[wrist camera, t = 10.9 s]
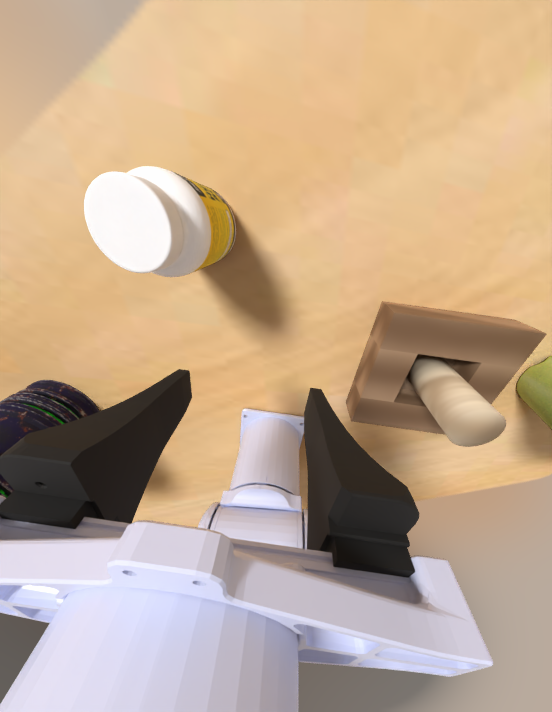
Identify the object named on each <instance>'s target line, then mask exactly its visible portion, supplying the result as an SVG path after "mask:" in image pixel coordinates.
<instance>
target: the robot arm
mask: <svg viewBox="0 0 552 712" xmlns="http://www.w3.org/2000/svg"><path fill="white" fill-rule="evenodd" d="M191 398H192V393H191V383H190V372H189V371H188V370H181V369H179V370H177V371H175V372H174V373H172V374H171V375H169V376H167V377H166V378H164V379H163V380H161V381H159V382H158V383H156V384H154V385H153V386H151V387H149V388H148V389H146V390H144V391H142V392H140V393H139V394H137V395H135V396H133V397H131V398H129V399H127V400H125V401H123V402H121V403H119V404H117V405H114V406H112V407H110V408H107V409H105V410H102V411H100V412H97V413H95V414H92V415H89V416H87V417H84V418H81V419H78V420H75V421H72V422H68V423H65V424H62V425H58V426H55V427H51V428H47V429H43V430H40V431H36V432H32V433H28V434H27V435H26V436H25V437H23V438H22V439H21V440H20V441H18V442H17V443H16V444H15V445H13V446H12V447H11V448H10V449H8V450H7V451H6V452H5V453H3V454H2V455H1V456H0V474H1V475H2V476H3V478H4V479H5V480H6V481H7V482H8V484H9V485H10V486H11V487H12V488H13V489H14V491H13V492H12V493H11V494H10V495H9V496H8V497H7V498H5V497H3V496H1V495H0V613H5V614H10V615H14V616H19V617H24V618H28V619H34V620H38V621H43V622H47V623H50V624H49V626H48V627H47V629H46V631H45V632H44V634H43V636H42V637H41V639H40V640H39V642H38V644H37V645H36V647H35V649H34V650H33V652H32V654H31V655H30V657H29V659H28V660H27V662H26V663H25V665H24V667H23V668H22V670H21V672H20V673H19V675H18V676H17V678H16V680H15V681H14V683H13V685H12V686H11V688H10V689H9V691H8V693H7V694H6V696H5V698H4V699H3V701H2V703H1V704H0V712H298V662H307V663H319V664H331V665H332V664H333V665H344V666H356V667H368V668H380V669H391V670H401V671H410V672H420V673H427V674H435V675H442V676H449V677H452V676H456V675H460V674H464V673H467V672H471V671H475V670H479V669H483V668H486V667H490V666H493V660H492V658H491V656H490V654H489V651H488V649H487V647H486V645H485V642H484V640H483V638H482V636H481V633H480V631H479V629H478V627H477V624H476V622H475V620H474V618H473V616H472V613H471V611H470V609H469V607H468V604H467V602H466V600H465V598H464V595H463V593H462V591H461V589H460V586H459V584H458V582H457V580H456V577H455V575H454V573H453V571H452V568H451V566H450V564H449V562H448V561H447V560H446V559H440V558H433V557H427V556H412V557H410V555H409V552H408V549H407V547H409V546H410V544H409V540H408V537H407V535H406V534H407V533H408V532H409V531H410V529H411V528H412V527H413V526H414V525H415V524H416V522H417V521H418V519H419V512H418V509H417V507H416V505H415V502H414V500H413V498H412V496H411V494H410V492H409V490H408V488H407V487H406V486H405V485H404V484H403V483H401V482H400V481H399V480H397V479H396V478H395V477H393V476H392V475H391V474H390V473H388V472H387V471H386V470H385V469H384V468H383V467H381V466H380V465H379V464H378V463H377V462H376V461H375V460H374V459H372V458H371V457H370V456H369V455H368V454H367V453H366V452H365V451H364V450H363V449H362V448H361V447H360V445H359V444H358V443H357V442H356V441H355V440H354V439H353V438H352V436H351V435H350V434H349V433H348V431H347V430H346V429H345V427H344V426H343V425H342V423H341V422H340V420H339V419H338V417H337V416H336V414H335V413H334V411H333V410H332V408H331V406H330V404H329V403H328V401H327V399H326V397H325V396H324V394H323V392H322V390H321V389H315V388H310V392H309V396H308V400H307V404H306V408H305V412H304V417H302V416H295V415H288V414H281V413H274V412H267V411H260V410H253V409H243V410H242V417H241V435H240V449H239V453H238V457H237V461H236V465H235V469H234V473H233V477H232V481H231V485H230V489H229V491H223V495H222V499H221V502H220V503H219V502H215V503H213V504H212V505H211V506H210V507H209V509H208V510H206V512H205V513H204V515H203V516H202V518H201V521H200V523H199V526H198V528H197V527H191V526H184V525H177V524H170V523H163V522H156V521H140V520H139V521H136V522H134V523H132V521H133V518H134V515H135V513H136V510H137V508H138V505H139V503H140V500H141V498H142V495H143V493H144V491H145V488H146V486H147V483H148V481H149V479H150V477H151V474H152V472H153V470H154V468H155V466H156V463H157V461H158V459H159V457H160V455H161V453H162V451H163V449H164V447H165V445H166V444H167V442H168V440H169V439H170V437H171V435H172V434H173V432H174V431H175V429H176V427H177V426H178V424H179V422H180V421H181V419H182V417H183V416H184V414H185V412H186V410H187V408H188V405H189V403H190V401H191ZM245 415H247V416H245ZM301 423H303V424H301ZM303 434H304V435H305V446H306V455H307V466H308V509H303V512H302V502H301V496H300V488H299V449H300V445H301V441H302V437H303ZM131 523H132V524H131Z"/></svg>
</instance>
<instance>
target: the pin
mask: <svg viewBox="0 0 552 712" xmlns="http://www.w3.org/2000/svg"><path fill="white" fill-rule="evenodd" d="M406 378H407V379H408V381H409V382H410V384H411V385H412V387H413V388H414V389H415V391H416V392H417V394H418V395H419V397H420V398H421V400H422V401H423V402H424V404H425V405H426V407H427V408H428V410H429V411H430V412H431V414H432V415H433V417H434V418H435V420H436V421H437V423H438V424H439V425H440V427H441V428H442V430H443V431H444V433H445V434H446V435H447V437H448V438H449V440H450V441H451V442H452V443H454V444H456V445H459V446H466V447H470V446H478V445H482V444H485V443H488V442H490V441H492V440H494V439H495V438H497V437H498V436H499V435H500V434H501V433H502V432H503V431H504V429H505V427H506V420H505V418H504V417H503V416H502V415H501V414H500V413H499V412H498V411H497V410H496V409H495V408H494V407H493V406H492V405H491V404H490V403H489V402H488V401H486V400H485V399H484V398H483V397H482V396H481V395H480V394H479V393H478V392H477V391H476V390H475V389H474V388H473V387H472V386H471V385H470V384H469V383H467V382H466V381H465V380H464V379H463V378H462V377H461V376H460V375H459V374H458V373H457V372H456V371H455V370H454V369H453V368H452V367H451V366H450V365H449V364H447V363H446V362H445V361H444V360H443V359H442V358H441V357H436V356H429V355H422V354H418V355H417V357H416V359H415V361H414V363H413V365H412V367H411V369H410V371H409V373H408V375H407V377H406Z"/></svg>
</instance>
